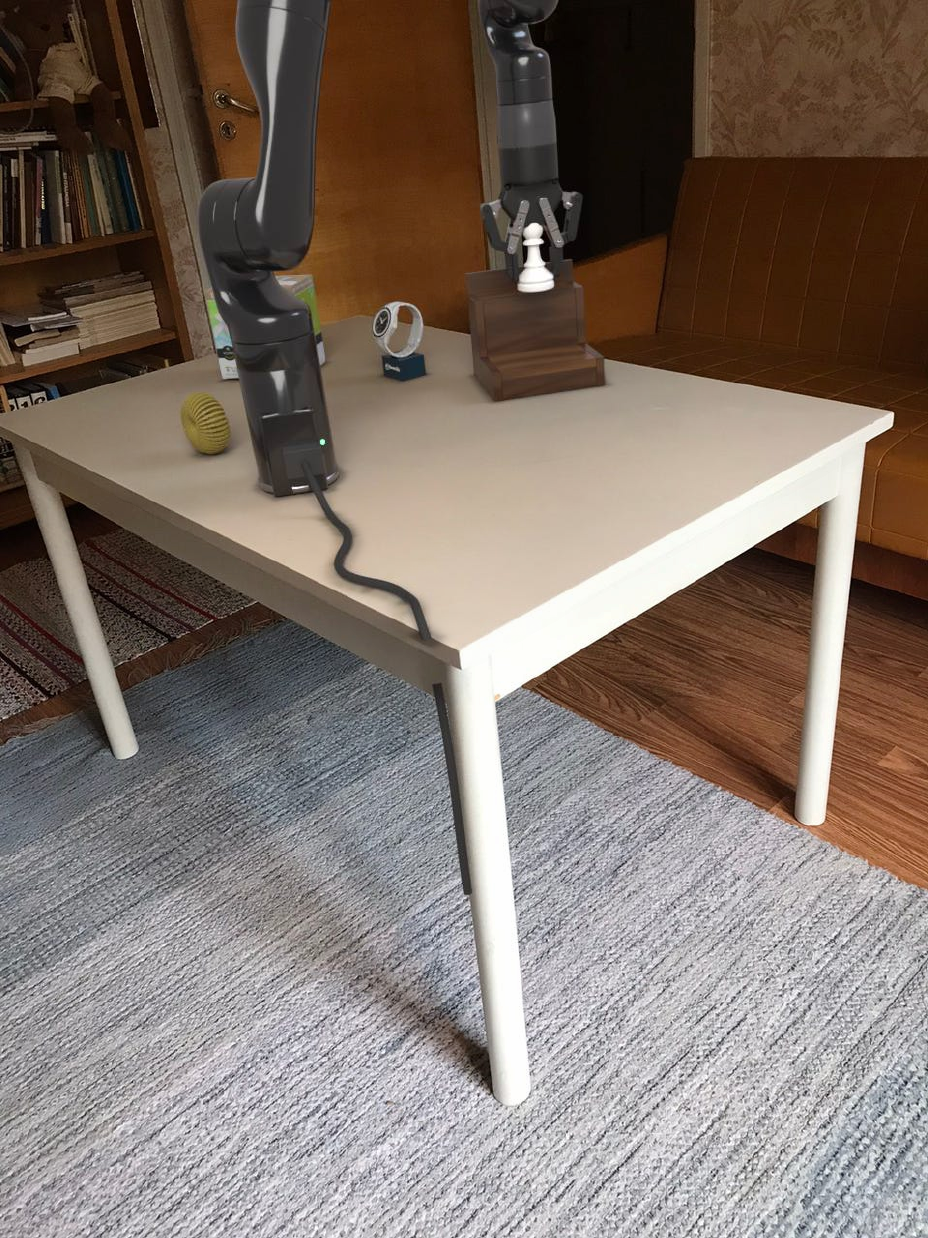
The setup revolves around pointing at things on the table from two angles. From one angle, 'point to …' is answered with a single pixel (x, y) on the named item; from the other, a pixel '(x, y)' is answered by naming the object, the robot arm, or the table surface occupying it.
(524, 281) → the chess pawn
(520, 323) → the shelf
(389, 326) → the watch
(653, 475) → the table surface
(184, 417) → the sculpture
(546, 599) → the table surface
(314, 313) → the tea box
